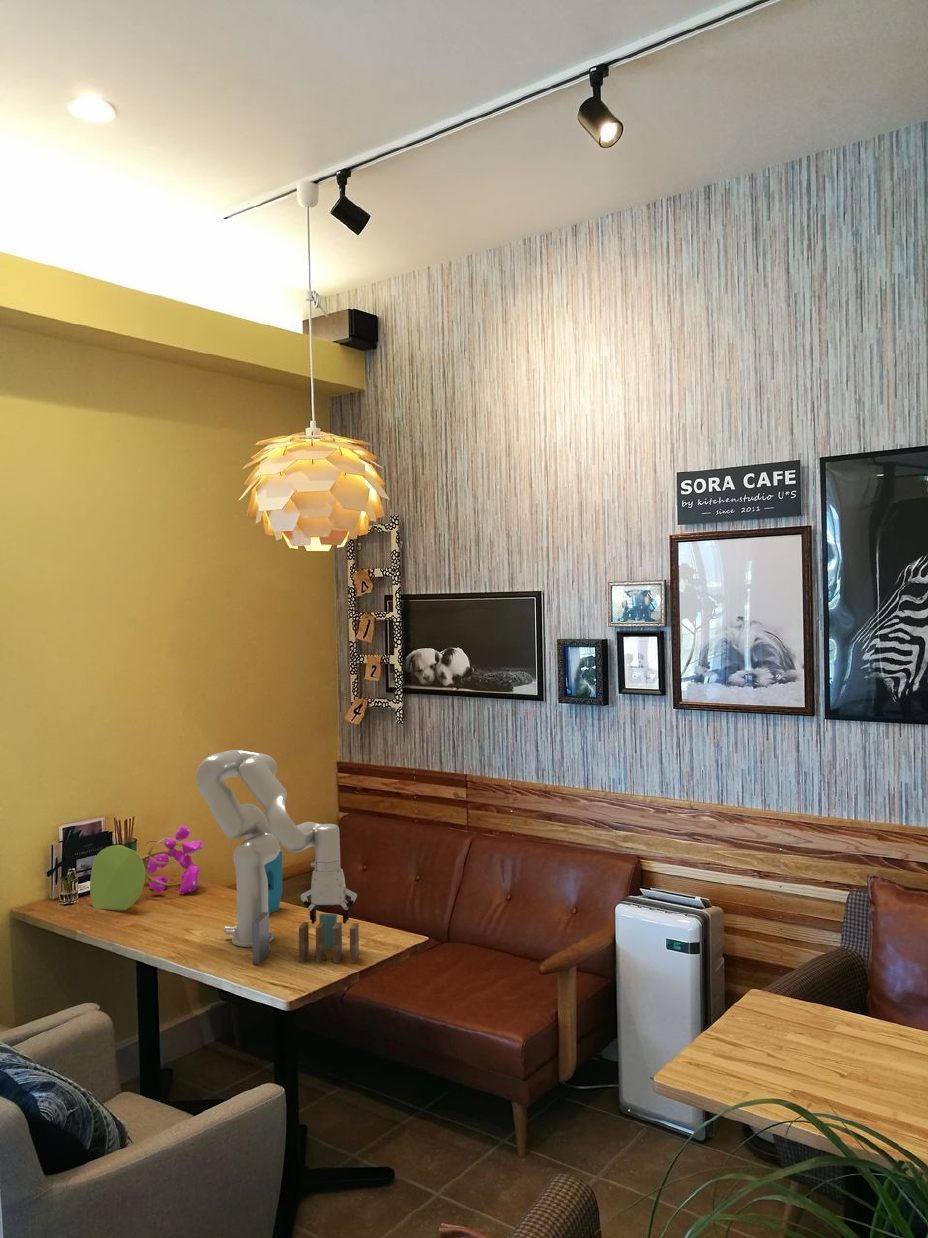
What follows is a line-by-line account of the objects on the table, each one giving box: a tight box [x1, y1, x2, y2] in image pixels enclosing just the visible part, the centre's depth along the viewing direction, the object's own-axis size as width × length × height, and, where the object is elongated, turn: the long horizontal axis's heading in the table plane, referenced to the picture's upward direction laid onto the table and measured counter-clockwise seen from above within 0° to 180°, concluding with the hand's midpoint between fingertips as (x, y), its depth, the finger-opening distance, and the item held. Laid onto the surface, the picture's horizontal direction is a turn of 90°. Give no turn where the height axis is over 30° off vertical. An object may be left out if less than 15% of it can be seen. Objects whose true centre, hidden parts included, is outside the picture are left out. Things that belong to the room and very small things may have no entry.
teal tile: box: [318, 913, 338, 950], centre depth 289 cm, size 2×5×10 cm, turn 85°
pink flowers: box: [89, 824, 204, 912], centre depth 346 cm, size 30×28×35 cm
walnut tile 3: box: [315, 922, 326, 963], centre depth 279 cm, size 2×5×10 cm, turn 175°
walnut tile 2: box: [332, 922, 343, 964], centre depth 278 cm, size 2×5×10 cm, turn 175°
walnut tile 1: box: [349, 922, 360, 964], centre depth 278 cm, size 2×5×10 cm, turn 175°
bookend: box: [252, 912, 271, 965], centre depth 280 cm, size 2×10×12 cm, turn 175°
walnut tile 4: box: [298, 921, 310, 963], centre depth 279 cm, size 2×5×10 cm, turn 175°
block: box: [264, 849, 283, 914], centre depth 326 cm, size 12×5×20 cm, turn 140°
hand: (329, 922), depth 289 cm, fingers open, 9 cm apart
